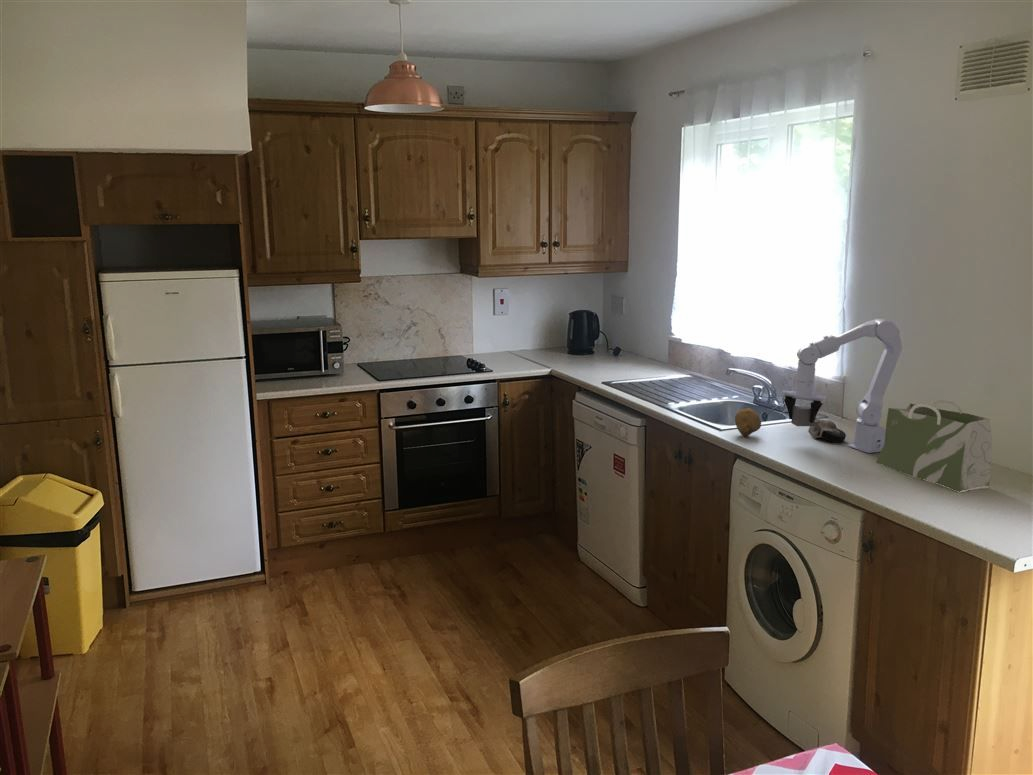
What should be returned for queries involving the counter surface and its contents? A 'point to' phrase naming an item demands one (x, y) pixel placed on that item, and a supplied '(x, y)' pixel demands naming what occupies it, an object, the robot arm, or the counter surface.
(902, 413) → the grocery bag
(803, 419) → the stepped grey block
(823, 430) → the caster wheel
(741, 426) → the natural sponge
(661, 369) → the counter surface
